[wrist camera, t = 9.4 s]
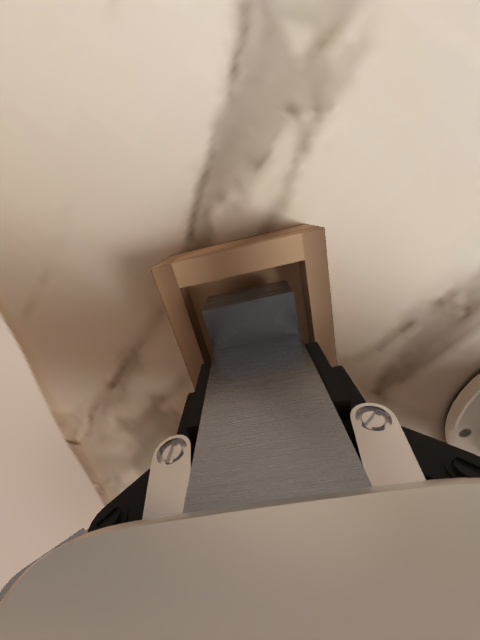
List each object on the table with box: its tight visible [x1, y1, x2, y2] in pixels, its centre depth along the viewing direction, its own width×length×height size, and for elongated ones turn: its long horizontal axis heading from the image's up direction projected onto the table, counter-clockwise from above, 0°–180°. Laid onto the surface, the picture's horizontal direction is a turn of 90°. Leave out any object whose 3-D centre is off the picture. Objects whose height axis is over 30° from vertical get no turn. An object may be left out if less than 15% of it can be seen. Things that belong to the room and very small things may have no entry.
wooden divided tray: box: [151, 224, 337, 388], centre depth 17 cm, size 8×20×4 cm, turn 13°
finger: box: [183, 280, 373, 513], centre depth 10 cm, size 4×7×9 cm, turn 13°
